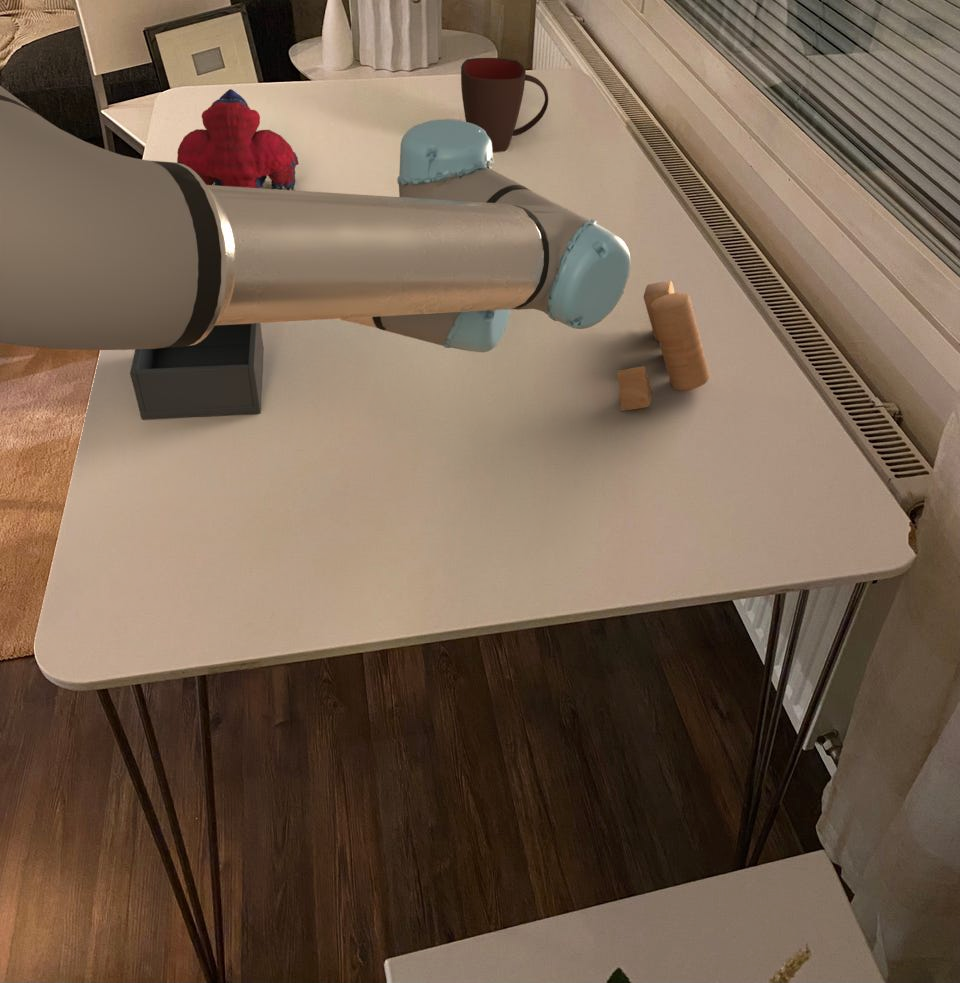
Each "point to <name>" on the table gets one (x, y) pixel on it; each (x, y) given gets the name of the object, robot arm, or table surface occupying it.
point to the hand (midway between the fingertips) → (139, 231)
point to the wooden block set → (667, 347)
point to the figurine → (237, 148)
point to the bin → (202, 375)
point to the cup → (496, 97)
